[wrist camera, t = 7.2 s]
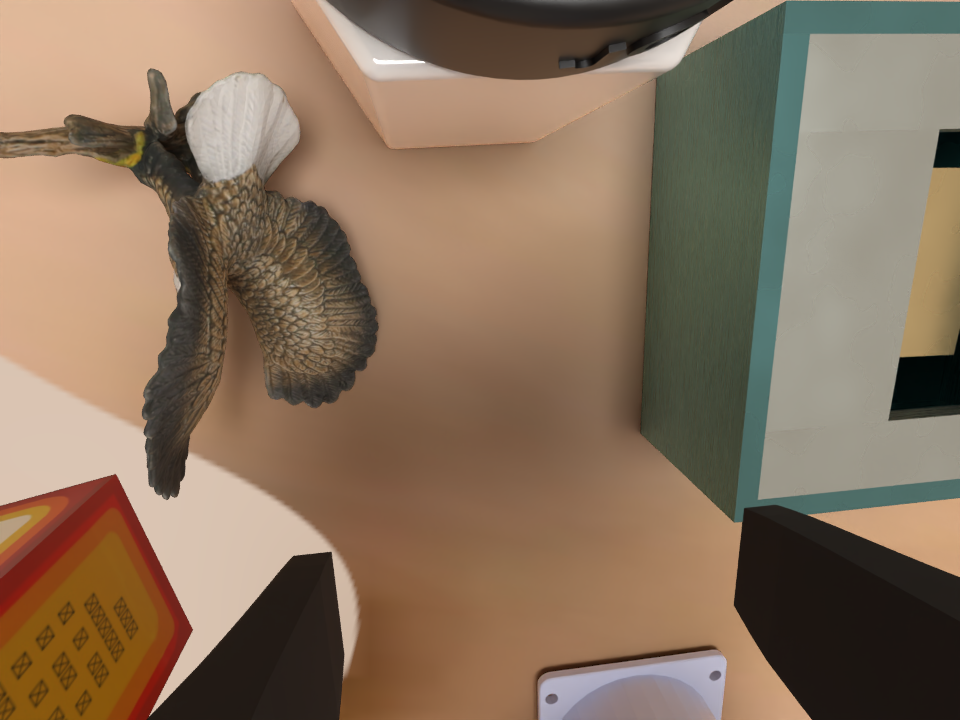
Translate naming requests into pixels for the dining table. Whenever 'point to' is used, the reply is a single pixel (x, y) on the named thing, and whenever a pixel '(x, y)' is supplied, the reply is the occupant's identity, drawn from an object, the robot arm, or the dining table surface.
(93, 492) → the baking soda box
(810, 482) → the box
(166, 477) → the eagle figurine
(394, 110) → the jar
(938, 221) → the block
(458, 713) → the dining table surface
